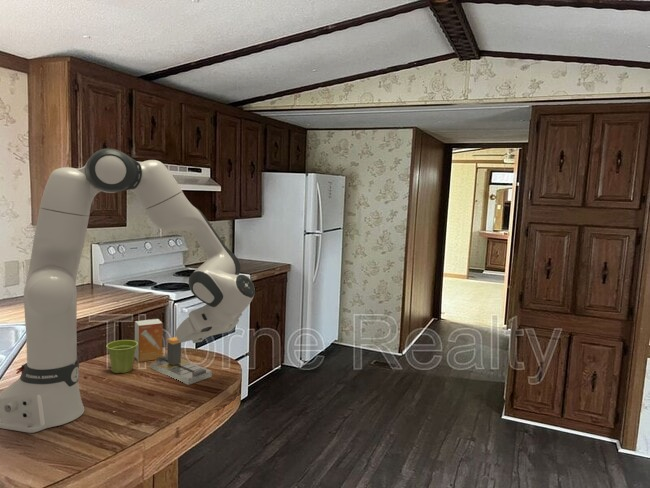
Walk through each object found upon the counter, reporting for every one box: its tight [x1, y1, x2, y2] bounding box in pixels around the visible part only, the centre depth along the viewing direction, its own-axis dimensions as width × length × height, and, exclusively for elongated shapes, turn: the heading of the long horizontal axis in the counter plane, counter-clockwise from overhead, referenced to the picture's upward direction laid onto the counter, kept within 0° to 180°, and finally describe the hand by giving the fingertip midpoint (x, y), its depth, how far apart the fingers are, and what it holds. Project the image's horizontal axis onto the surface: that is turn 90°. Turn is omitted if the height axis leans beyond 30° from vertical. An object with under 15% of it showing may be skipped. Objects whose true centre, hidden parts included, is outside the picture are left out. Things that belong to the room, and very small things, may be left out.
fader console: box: [150, 354, 213, 386], centre depth 154 cm, size 21×9×3 cm, turn 53°
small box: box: [134, 318, 164, 363], centre depth 165 cm, size 8×6×13 cm
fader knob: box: [166, 336, 182, 365], centre depth 156 cm, size 3×3×8 cm
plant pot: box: [106, 339, 138, 374], centre depth 154 cm, size 9×9×9 cm
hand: (196, 340), depth 147 cm, fingers closed
